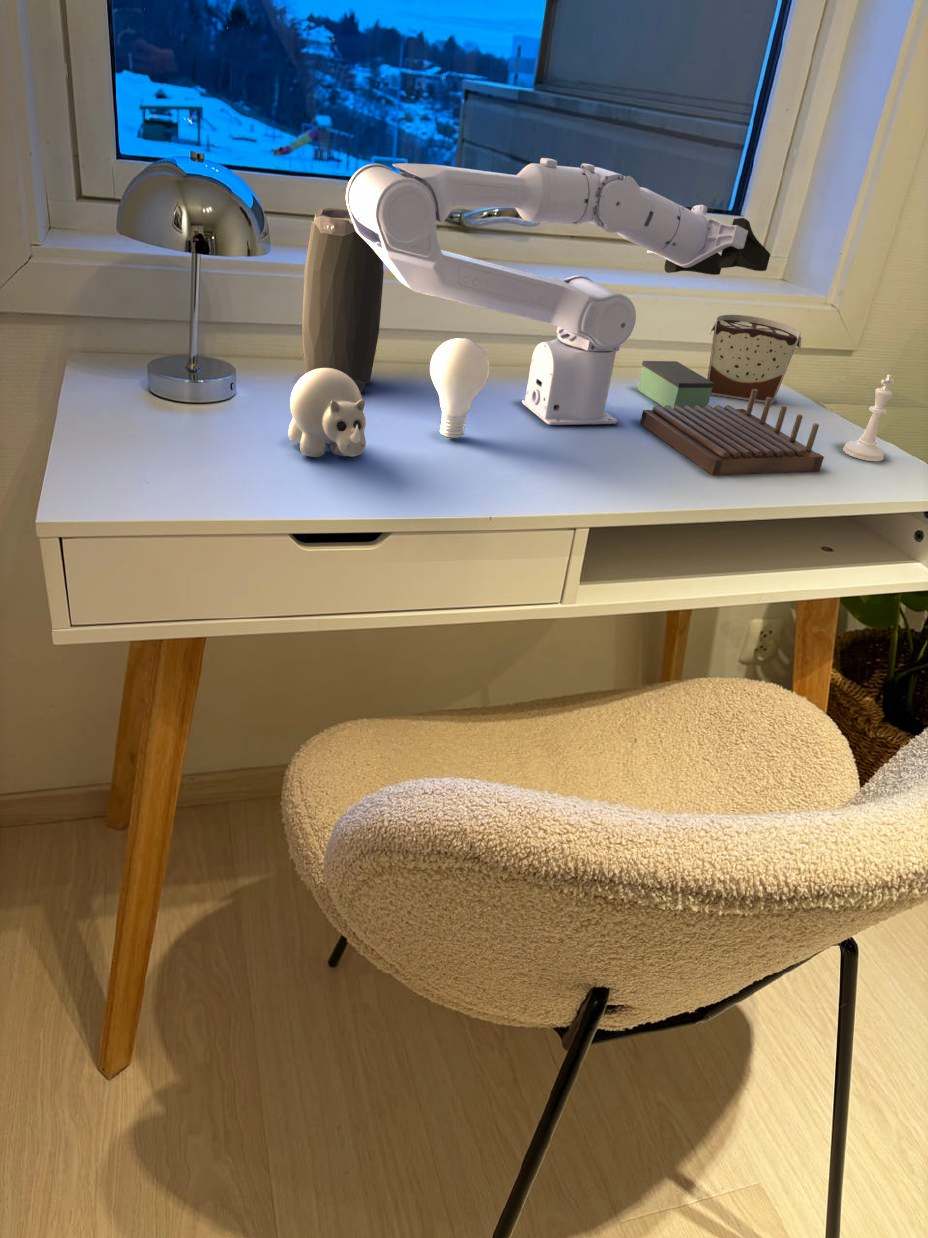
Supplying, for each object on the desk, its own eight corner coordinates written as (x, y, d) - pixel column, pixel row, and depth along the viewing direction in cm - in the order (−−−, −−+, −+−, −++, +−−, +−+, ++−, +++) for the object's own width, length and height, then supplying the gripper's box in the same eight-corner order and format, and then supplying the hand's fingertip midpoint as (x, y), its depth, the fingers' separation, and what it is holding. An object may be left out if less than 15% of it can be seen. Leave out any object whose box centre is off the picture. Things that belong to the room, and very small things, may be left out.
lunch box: (672, 413, 130) (679, 383, 128) (636, 389, 137) (642, 360, 135) (707, 413, 132) (714, 383, 130) (670, 389, 139) (676, 360, 137)
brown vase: (385, 384, 125) (401, 218, 116) (347, 402, 118) (360, 226, 108) (326, 367, 128) (336, 203, 118) (285, 384, 120) (292, 210, 111)
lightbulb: (488, 437, 114) (502, 340, 108) (465, 453, 108) (478, 352, 103) (437, 423, 115) (449, 327, 110) (412, 438, 110) (423, 338, 105)
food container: (775, 392, 145) (796, 321, 140) (783, 405, 139) (805, 332, 134) (690, 379, 145) (707, 308, 140) (694, 391, 140) (712, 319, 135)
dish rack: (711, 475, 112) (723, 432, 110) (639, 423, 125) (648, 384, 122) (819, 470, 118) (833, 430, 115) (740, 422, 130) (750, 384, 128)
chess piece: (834, 447, 126) (859, 368, 121) (864, 445, 128) (890, 368, 123) (861, 462, 122) (889, 381, 117) (892, 460, 124) (920, 381, 119)
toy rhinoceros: (316, 485, 96) (320, 399, 92) (279, 439, 105) (282, 358, 101) (386, 480, 99) (394, 397, 95) (344, 436, 108) (350, 357, 104)
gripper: (716, 182, 110) (797, 225, 117) (630, 198, 122) (708, 236, 129) (699, 248, 111) (781, 286, 118) (615, 257, 123) (694, 292, 130)
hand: (742, 264), depth 124 cm, fingers open, 7 cm apart
